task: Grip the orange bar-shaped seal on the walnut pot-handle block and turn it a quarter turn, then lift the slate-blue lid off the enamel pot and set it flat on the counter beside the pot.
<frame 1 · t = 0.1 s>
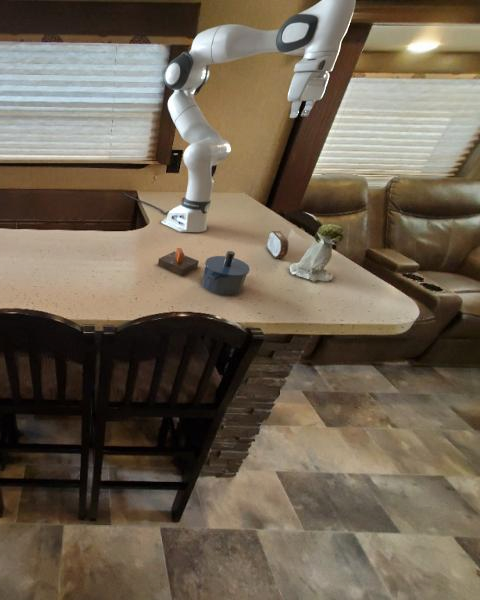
hand: (298, 117, 100), 48 cm above the counter, tool pointing down, fingers open, 8 cm apart
pot lid: (226, 266, 97), point 7 cm above the counter, touching pot
handle block: (177, 266, 113), on the counter
seal: (179, 255, 110), point 5 cm above the counter, hinge at -45.0°
pot: (220, 285, 101), on the counter
tin: (273, 253, 122), on the counter
mossy white figurine: (309, 274, 107), on the counter
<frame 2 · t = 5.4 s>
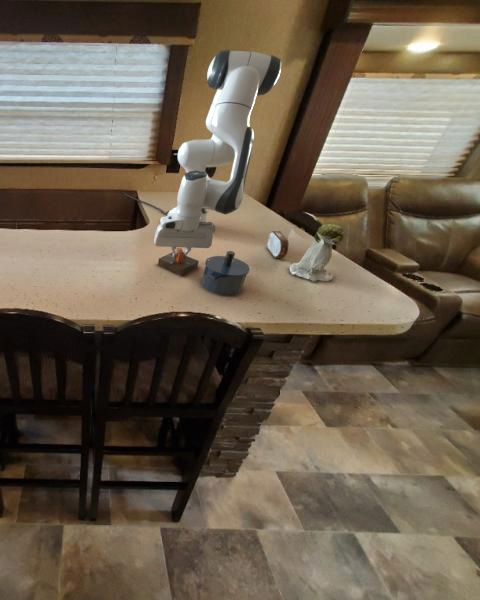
hand: (179, 257, 111), 4 cm above the counter, tool pointing down, fingers closed on seal, 2 cm apart
seal: (179, 255, 110), point 5 cm above the counter, hinge at -45.0°, touching gripper
everything else where it was.
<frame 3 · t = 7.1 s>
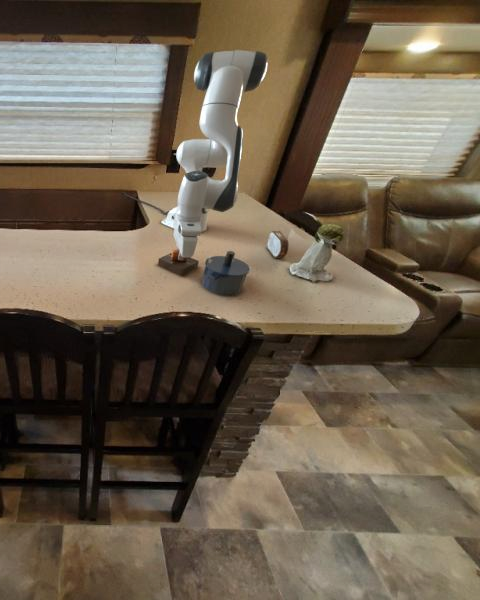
hand: (179, 257, 111), 4 cm above the counter, tool pointing down, fingers closed on seal, 2 cm apart
seal: (179, 255, 110), point 5 cm above the counter, hinge at 45.0°, touching gripper
everything else where it was.
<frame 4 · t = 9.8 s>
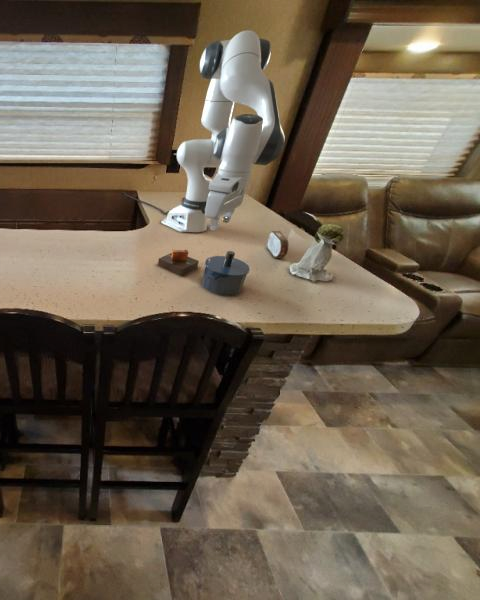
hand: (219, 225, 94), 20 cm above the counter, tool pointing down, fingers open, 8 cm apart
seal: (179, 255, 110), point 5 cm above the counter, hinge at 44.9°
everything else where it was.
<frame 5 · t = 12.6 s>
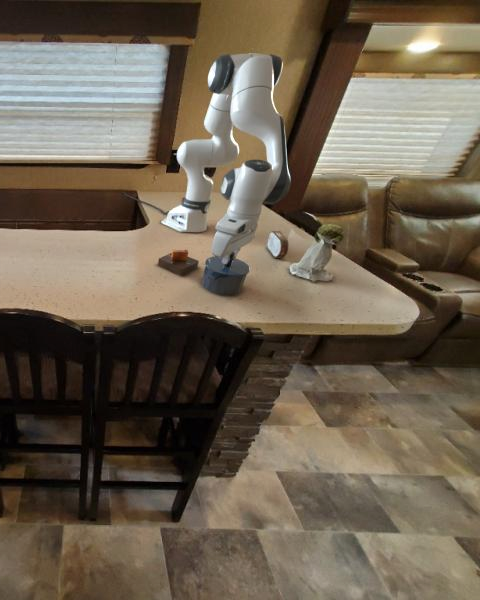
hand: (228, 261, 96), 9 cm above the counter, tool pointing down, fingers closed on pot lid, 2 cm apart
pot lid: (226, 266, 97), point 8 cm above the counter, touching gripper, pot
everything else where it was.
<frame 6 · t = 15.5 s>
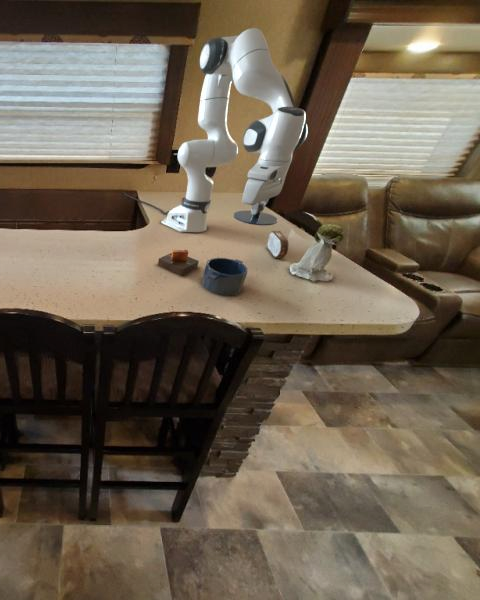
hand: (256, 212, 100), 21 cm above the counter, tool pointing down, fingers closed on pot lid, 2 cm apart
pot lid: (254, 218, 101), point 19 cm above the counter, touching gripper
everything else where it was.
when the fingers open (2 cm above the counter, at t = 18.7 s): pot lid stays where it is, point 1 cm above the counter.
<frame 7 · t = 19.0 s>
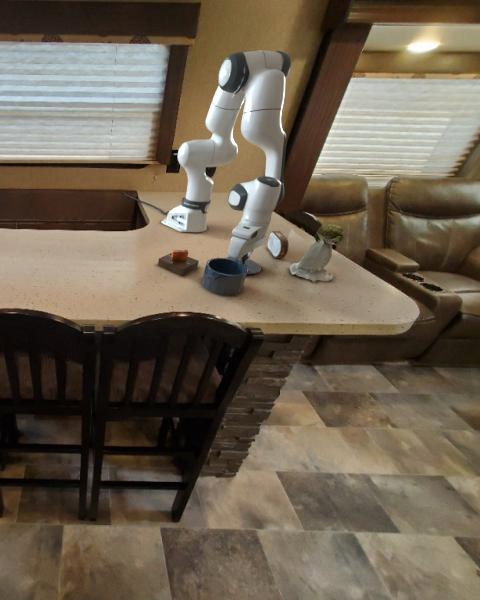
hand: (241, 262, 111), 2 cm above the counter, tool pointing down, fingers open, 5 cm apart
pot lid: (240, 265, 112), point 1 cm above the counter
everything else where it was.
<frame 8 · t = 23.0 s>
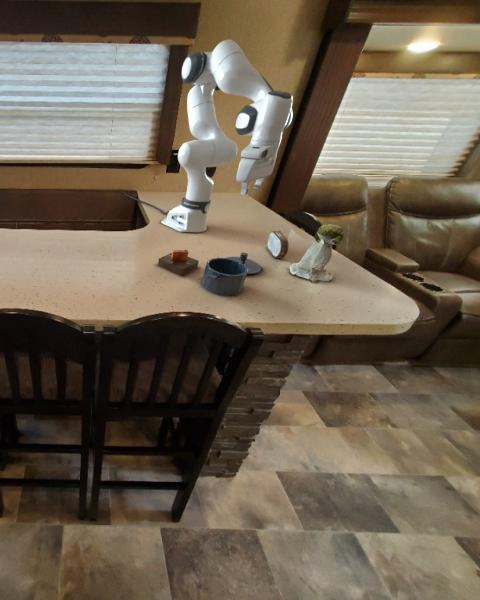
hand: (249, 191, 107), 25 cm above the counter, tool pointing down, fingers open, 8 cm apart
nothing on the counter moved.
at the end: seal at +45° (first picture: -45°); pot lid inside the target area (0.1 cm from its centre), point 0.6 cm above the counter; pot lid tilted 0° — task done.
